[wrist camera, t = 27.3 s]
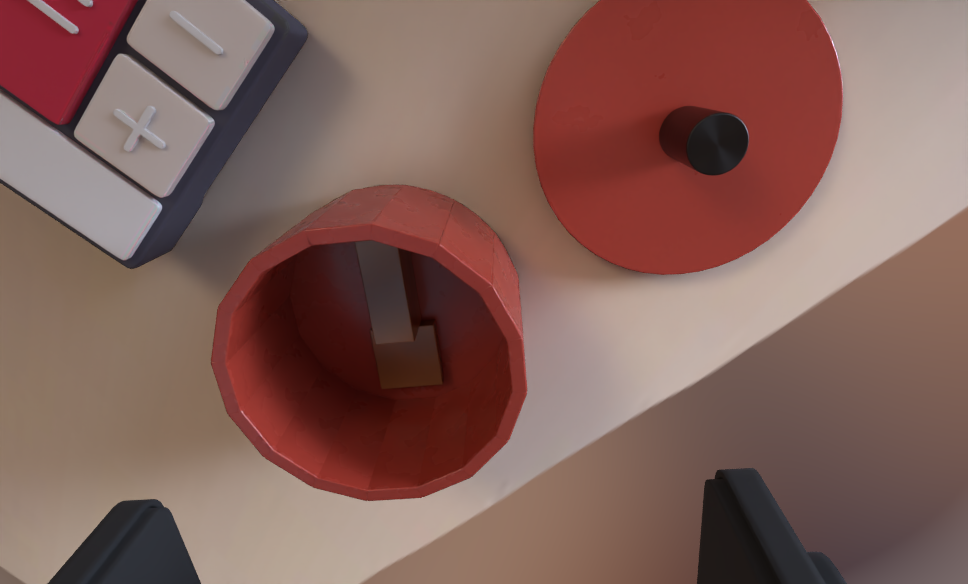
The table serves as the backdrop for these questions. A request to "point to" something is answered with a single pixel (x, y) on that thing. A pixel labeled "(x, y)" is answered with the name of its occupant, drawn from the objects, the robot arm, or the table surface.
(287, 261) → the pot
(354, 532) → the table surface
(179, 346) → the table surface
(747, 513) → the robot arm
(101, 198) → the calculator
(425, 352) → the stepped wooden block pair
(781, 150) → the lid
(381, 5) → the table surface
